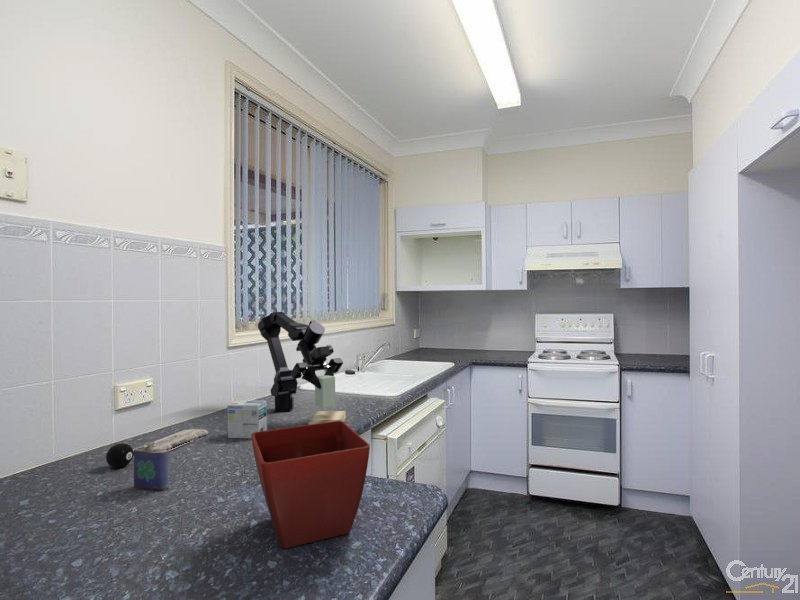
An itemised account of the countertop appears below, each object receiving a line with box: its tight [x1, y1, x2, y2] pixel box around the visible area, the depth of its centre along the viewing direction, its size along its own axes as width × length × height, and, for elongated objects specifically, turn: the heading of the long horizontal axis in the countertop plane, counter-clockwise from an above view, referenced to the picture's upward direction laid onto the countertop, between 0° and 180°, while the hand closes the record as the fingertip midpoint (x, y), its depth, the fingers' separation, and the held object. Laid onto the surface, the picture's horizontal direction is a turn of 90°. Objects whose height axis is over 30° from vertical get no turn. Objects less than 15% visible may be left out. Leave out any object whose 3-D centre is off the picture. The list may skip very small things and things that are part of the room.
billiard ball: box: [105, 443, 134, 469], centre depth 118 cm, size 6×6×6 cm
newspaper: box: [132, 428, 209, 453], centre depth 137 cm, size 23×12×2 cm, turn 161°
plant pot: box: [251, 421, 371, 549], centre depth 85 cm, size 19×19×17 cm
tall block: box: [314, 375, 336, 409], centre depth 155 cm, size 5×5×10 cm
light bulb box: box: [226, 400, 268, 439], centre depth 144 cm, size 11×7×11 cm, turn 84°
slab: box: [308, 410, 347, 425], centre depth 156 cm, size 11×12×3 cm
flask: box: [133, 441, 170, 492], centre depth 104 cm, size 9×3×11 cm, turn 74°
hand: (327, 387), depth 154 cm, fingers closed on tall block, 5 cm apart
